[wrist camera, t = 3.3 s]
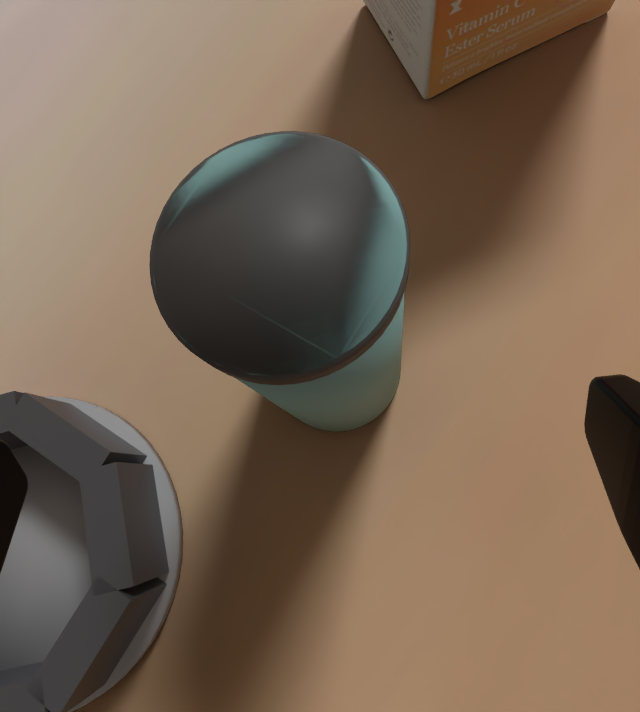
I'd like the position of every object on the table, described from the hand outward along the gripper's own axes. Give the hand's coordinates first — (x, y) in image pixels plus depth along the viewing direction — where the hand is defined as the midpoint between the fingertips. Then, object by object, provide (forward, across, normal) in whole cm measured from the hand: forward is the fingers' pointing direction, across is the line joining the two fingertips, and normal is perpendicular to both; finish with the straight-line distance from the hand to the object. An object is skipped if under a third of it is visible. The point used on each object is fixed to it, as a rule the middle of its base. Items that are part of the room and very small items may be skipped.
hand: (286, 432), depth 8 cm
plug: (+9, 0, +5) cm, 11 cm away
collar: (+6, +11, +9) cm, 15 cm away
